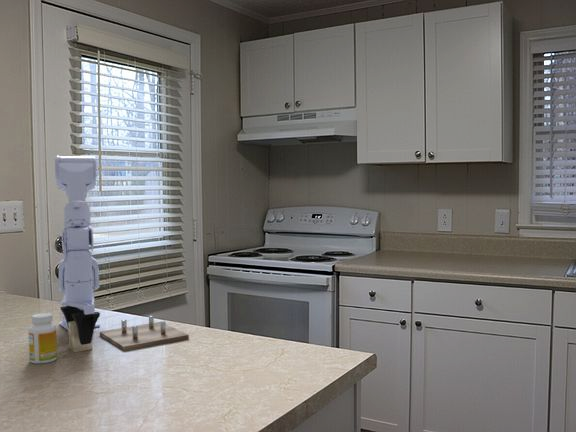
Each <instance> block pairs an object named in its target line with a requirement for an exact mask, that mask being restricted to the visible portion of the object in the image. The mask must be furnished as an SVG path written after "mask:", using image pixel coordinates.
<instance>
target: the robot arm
mask: <svg viewBox="0 0 576 432" xmlns="http://www.w3.org/2000/svg"><path fill="white" fill-rule="evenodd" d="M97 172H98V171H97V157H95V156H94V155H92V156H73V155H72V156H71V155H70V156H66V155H65V156H60V155H56V157H55V158H54V174H55V176H54V177H55V179H56V180H55V181H56V186H57V188H58V190H62V191H63V192H65V194H66V197H67V199H68V203H66V204H65V206H64V207H63V229H62V231H61V248H62V252H63V258H62V260H60V261H59V263H58V290H59V291H60V292H61V293H63V294H64V295H63V297H62V299H61V301H60V302H59V303H60V310H61V313H62V321H59V322H58V323H59V324H58V325H60V326H61V327H63V328H64V329H66V330H67V331H68V332H69V325H68V322H72V321H75V322H76V325H77V329H78V334H79V340H80V343H81V345H84V344H90V343H91V341H92V342H93V335H94V330H95V328H97V327H101V324H100V323H99V322H98V320H99V318H100V316H101V312H99V311H96V310H95V308H96V307H95V306H96V305H95V291H97V290H98V289H99V288H100V271H99V261H98V260H97V259H96V258H94V257H93V255H92V252H93V251H94V231H93V226H92V223H91V207H90V205H88V204H87V202H86V198H87V195H88V192H89V191H91V190H93V189H95V188H96V184H97ZM90 247H91V251H90Z"/></svg>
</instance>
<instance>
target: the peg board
mask: <svg viewBox="0 0 576 432" xmlns="http://www.w3.org/2000/svg"><path fill="white" fill-rule="evenodd" d="M154 318H155V316H154V315H148V323H145V324H138V325H132V326H127V325H128V324H127V322H128V321H127V319H121V327H120V328H119V327H118V328H114V329H109V330H101V331H99V336H100V337H101V338H103V339H105V340H106V341H108V342H109V343H111V344H112V345H113V346H115V347H117V348H119V349H120V350H121V351H123V352H124V351H125V352H126V350H127V351H132V350H137V349H142V348H143V349H144V348H146V347H147V348H148V347H153V346H158V345H163V344H164V345H165V344H169V343H175V342H180V341H185V340H189V339H190V336H189V335H190V334H187V333H185V332H184V331H182V330H179V329H177V328H175V327H173V326H171V325H169V324H166V323H167V322H166V321H165V320H162V321H157V322H155V319H154Z"/></svg>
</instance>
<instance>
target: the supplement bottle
mask: <svg viewBox="0 0 576 432" xmlns="http://www.w3.org/2000/svg"><path fill="white" fill-rule="evenodd" d="M52 322H53V314H52V313H51V312H42V313H35V314H33V315H31V323H32V325H31V326H30V327H29V328H28V352H29V353H28V355H29V358H28V359H29V362H30V363H32V364H34V365H35V364H37V365H38V364H40V365H41V364H48V363H51V362H54V361H55V360H57V359H58V348H57V347H58V346H57V345H58V344H57V326H56V324H54V323H52Z"/></svg>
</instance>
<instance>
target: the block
mask: <svg viewBox="0 0 576 432" xmlns="http://www.w3.org/2000/svg"><path fill="white" fill-rule="evenodd" d="M68 325H69V331H68V348H69V349H70V350H71V351H72V352H73V353H77V352H83V351H84V352H85V351H88V350H93V340H92V341H91V343H90V344H84V345H81V343H80V340H79V334H78V329H77V325H76V322H75V321H72V322H68Z"/></svg>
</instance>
